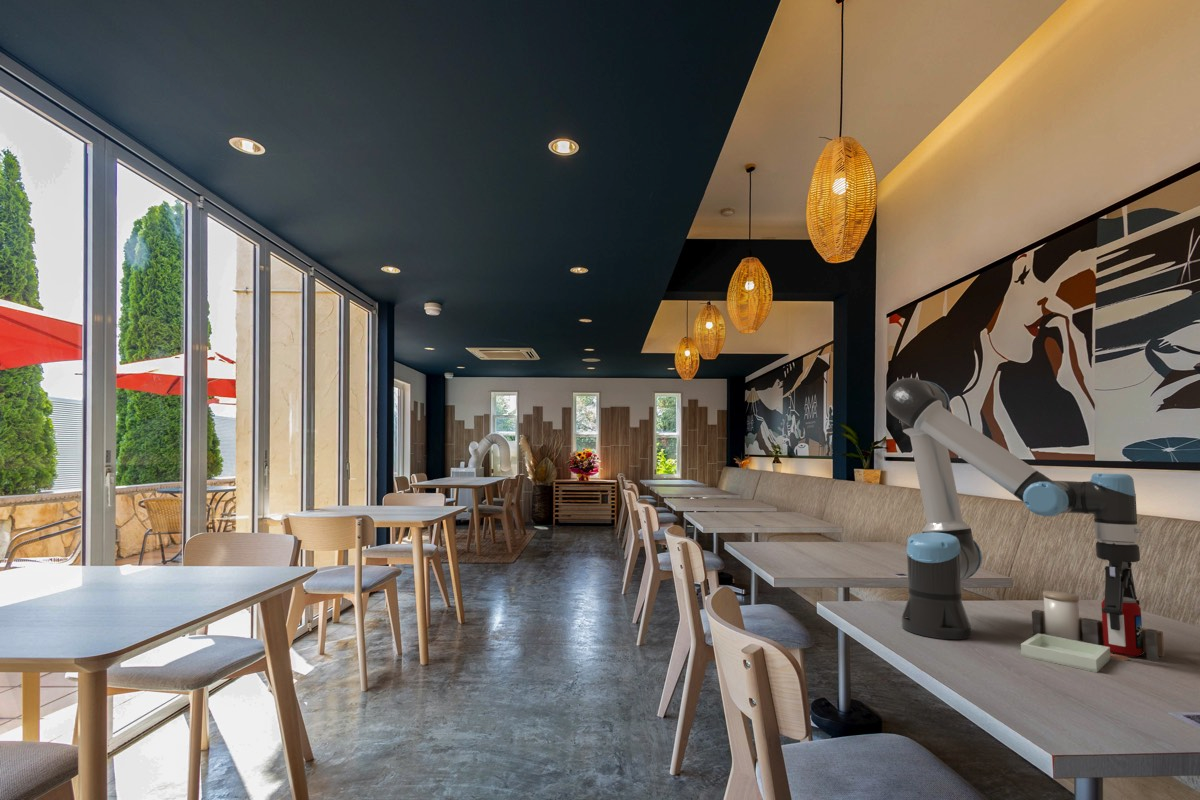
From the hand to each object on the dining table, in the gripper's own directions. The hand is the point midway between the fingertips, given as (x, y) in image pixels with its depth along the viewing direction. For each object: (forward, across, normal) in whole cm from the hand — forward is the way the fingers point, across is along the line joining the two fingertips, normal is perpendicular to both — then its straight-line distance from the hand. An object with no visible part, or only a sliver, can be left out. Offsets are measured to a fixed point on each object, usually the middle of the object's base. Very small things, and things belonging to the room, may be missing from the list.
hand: (1123, 639), depth 136 cm
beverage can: (+3, 0, 0) cm, 3 cm away
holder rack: (+3, 0, +6) cm, 6 cm away
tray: (+3, -14, +8) cm, 16 cm away
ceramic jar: (+3, 0, +11) cm, 12 cm away
